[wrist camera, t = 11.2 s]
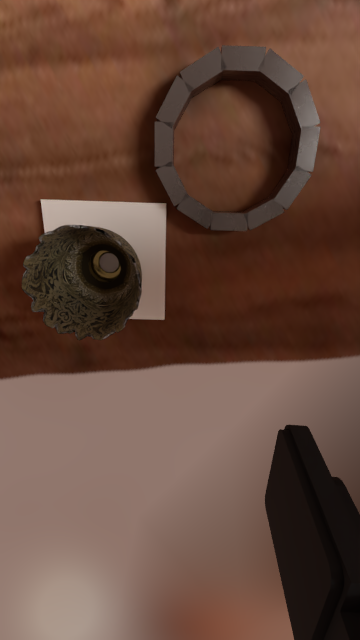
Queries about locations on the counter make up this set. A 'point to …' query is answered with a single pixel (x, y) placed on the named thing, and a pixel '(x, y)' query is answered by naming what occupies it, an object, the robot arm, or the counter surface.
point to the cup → (83, 281)
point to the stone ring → (277, 82)
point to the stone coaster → (136, 228)
